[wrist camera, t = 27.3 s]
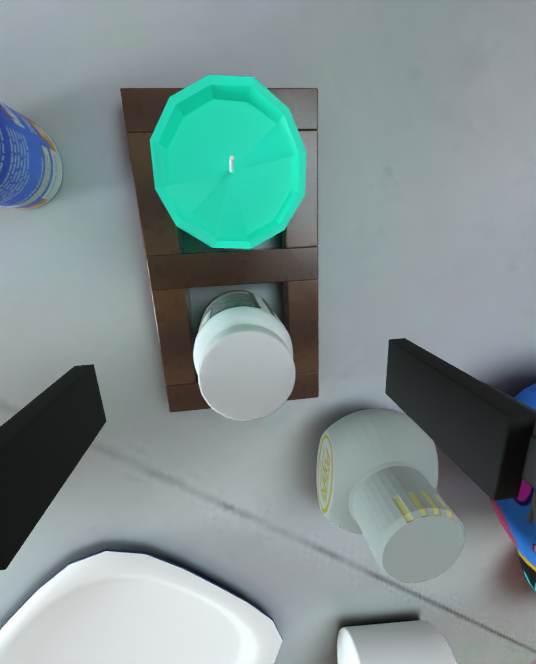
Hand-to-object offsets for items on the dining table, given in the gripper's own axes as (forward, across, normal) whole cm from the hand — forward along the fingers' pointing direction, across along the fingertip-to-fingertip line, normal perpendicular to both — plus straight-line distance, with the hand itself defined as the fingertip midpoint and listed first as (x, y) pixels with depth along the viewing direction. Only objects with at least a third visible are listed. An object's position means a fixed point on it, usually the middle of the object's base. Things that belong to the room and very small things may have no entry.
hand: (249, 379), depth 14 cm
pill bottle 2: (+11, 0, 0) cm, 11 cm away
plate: (+10, -13, -34) cm, 38 cm away
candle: (+11, 0, +8) cm, 14 cm away
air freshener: (+11, +10, -13) cm, 19 cm away
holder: (+11, 0, +4) cm, 11 cm away
